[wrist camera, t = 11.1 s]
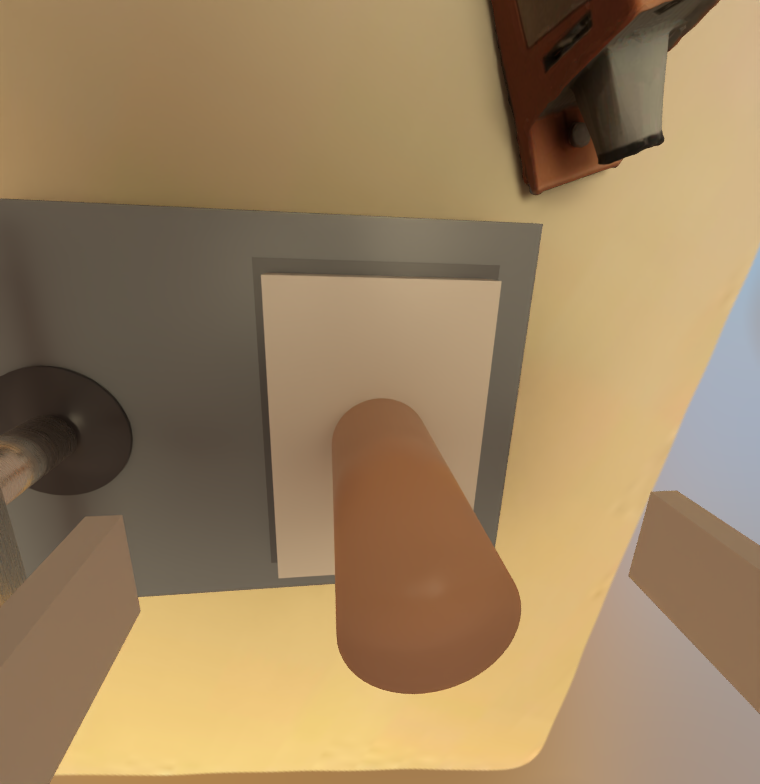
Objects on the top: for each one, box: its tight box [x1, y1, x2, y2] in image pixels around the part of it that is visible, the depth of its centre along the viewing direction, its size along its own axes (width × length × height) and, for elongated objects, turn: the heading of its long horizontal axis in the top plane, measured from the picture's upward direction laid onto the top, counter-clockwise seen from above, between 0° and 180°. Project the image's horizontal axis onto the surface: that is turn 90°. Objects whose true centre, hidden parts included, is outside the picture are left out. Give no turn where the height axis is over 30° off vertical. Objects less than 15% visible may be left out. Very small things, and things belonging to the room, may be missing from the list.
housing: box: [0, 199, 543, 597], centre depth 19 cm, size 16×21×5 cm
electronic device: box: [491, 0, 720, 195], centre depth 14 cm, size 4×10×8 cm, turn 19°
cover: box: [261, 273, 521, 694], centre depth 12 cm, size 12×8×10 cm, turn 179°
